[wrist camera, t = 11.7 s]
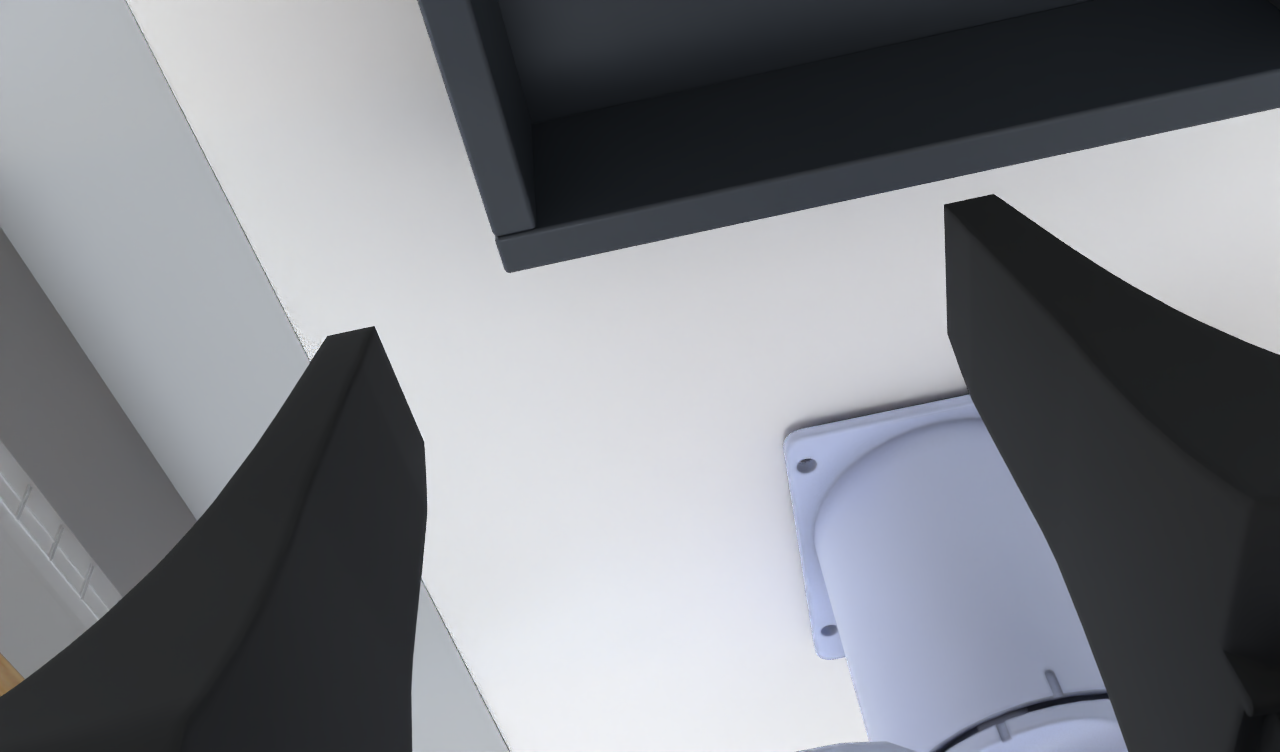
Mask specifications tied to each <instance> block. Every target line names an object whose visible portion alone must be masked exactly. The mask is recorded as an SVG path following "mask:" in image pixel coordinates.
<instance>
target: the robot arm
mask: <svg viewBox="0 0 1280 752" xmlns="http://www.w3.org/2000/svg"><path fill="white" fill-rule="evenodd" d="M944 223H945V260H946V297H947V334H948V336H949V339H950V342H951V345H952V348H953V351H954V353H955V356H956V359H957V362H958V365H959V367H960V370H961V373H962V376H963V378H964V381H965V383H966V386H967V389H968V391H969V395H964V396H959V397H954V398H949V399H944V400H940V401H935V402H930V403H925V404H920V405H915V406H910V407H906V408H901V409H896V410H891V411H886V412H881V413H876V414H871V415H867V416H862V417H857V418H852V419H847V420H842V421H837V422H833V423H828V424H823V425H818V426H813V427H808V428H803V429H799V430H796V431H794V432H792V433H791V434H789V435H788V436H787V437H786V439H785V440H784V444H783V449H784V456H785V462H786V469H787V475H788V481H789V488H790V494H791V501H792V507H793V514H794V520H795V526H796V533H797V539H798V546H799V552H800V558H801V565H802V571H803V578H804V584H805V591H806V597H807V603H808V610H809V616H810V623H811V629H812V636H813V642H814V647H815V651H816V653H817V655H818V656H819V657H820V658H822V659H827V660H831V659H838V658H843V657H846V660H847V663H848V667H849V671H850V674H851V678H852V681H853V685H854V689H855V692H856V696H857V699H858V703H859V707H860V710H861V714H862V717H863V721H864V725H865V728H866V732H867V735H868V739H869V742H855V743H839V744H834V745H828V746H823V747H818V748H813V749H807V750H802V751H797V752H1280V355H1278V354H1275V353H1273V352H1270V351H1268V350H1265V349H1262V348H1260V347H1257V346H1255V345H1252V344H1250V343H1247V342H1245V341H1243V340H1240V339H1238V338H1236V337H1234V336H1231V335H1229V334H1227V333H1225V332H1222V331H1220V330H1218V329H1216V328H1213V327H1211V326H1209V325H1207V324H1204V323H1202V322H1200V321H1198V320H1196V319H1194V318H1192V317H1190V316H1188V315H1186V314H1184V313H1182V312H1180V311H1178V310H1176V309H1174V308H1172V307H1170V306H1168V305H1166V304H1165V303H1163V302H1161V301H1159V300H1157V299H1155V298H1154V297H1152V296H1150V295H1148V294H1146V293H1144V292H1143V291H1141V290H1139V289H1137V288H1135V287H1134V286H1132V285H1130V284H1129V283H1127V282H1125V281H1123V280H1122V279H1120V278H1118V277H1117V276H1115V275H1113V274H1112V273H1110V272H1108V271H1107V270H1105V269H1104V268H1102V267H1100V266H1099V265H1097V264H1096V263H1094V262H1093V261H1091V260H1089V259H1088V258H1086V257H1085V256H1083V255H1082V254H1080V253H1079V252H1077V251H1076V250H1074V249H1073V248H1071V247H1070V246H1068V245H1067V244H1065V243H1064V242H1062V241H1061V240H1059V239H1058V238H1056V237H1055V236H1053V235H1052V234H1050V233H1049V232H1047V231H1046V230H1045V229H1043V228H1042V227H1040V226H1039V225H1037V224H1036V223H1035V222H1033V221H1032V220H1030V219H1029V218H1027V217H1026V216H1025V215H1023V214H1022V213H1020V212H1019V211H1017V210H1016V209H1015V208H1013V207H1012V206H1010V205H1009V204H1007V203H1006V202H1005V201H1003V200H1002V199H1000V198H999V197H997V196H996V195H994V194H992V195H987V196H982V197H978V198H973V199H968V200H964V201H959V202H954V203H950V204H945V205H944ZM804 459H811V460H810V461H807V462H804V463H799V462H800V461H801V460H804ZM426 520H427V487H426V466H425V448H424V441H423V438H422V436H421V434H420V431H419V429H418V427H417V424H416V422H415V420H414V417H413V415H412V413H411V410H410V408H409V406H408V403H407V401H406V399H405V396H404V394H403V392H402V389H401V387H400V385H399V382H398V380H397V378H396V375H395V373H394V371H393V368H392V366H391V364H390V361H389V359H388V357H387V354H386V352H385V350H384V347H383V345H382V343H381V340H380V338H379V336H378V333H377V331H376V329H375V326H373V327H368V328H363V329H359V330H354V331H349V332H344V333H340V334H335V335H330V336H327V338H326V339H325V341H324V342H323V344H322V345H321V347H320V348H319V350H318V351H317V353H316V354H315V356H314V357H313V359H312V360H311V362H310V363H309V365H308V367H307V368H306V370H305V371H304V373H303V374H302V376H301V377H300V379H299V381H298V382H297V384H296V385H295V387H294V388H293V390H292V391H291V393H290V395H289V396H288V398H287V399H286V401H285V402H284V404H283V405H282V407H281V408H280V410H279V412H278V413H277V415H276V416H275V418H274V419H273V421H272V422H271V423H270V425H269V426H268V428H267V429H266V431H265V432H264V434H263V435H262V437H261V438H260V440H259V441H258V443H257V444H256V446H255V447H254V449H253V450H252V451H251V453H250V454H249V455H248V457H247V458H246V459H245V461H244V462H243V463H242V464H241V466H240V467H239V468H238V470H237V471H236V472H235V474H234V475H233V476H232V478H231V479H230V480H229V482H228V483H227V484H226V486H225V487H224V488H223V490H222V491H221V492H220V494H219V495H218V496H217V498H216V499H215V500H214V502H213V503H212V504H211V505H210V506H209V508H208V509H207V510H206V511H205V513H204V514H203V515H202V516H201V517H200V518H199V520H198V521H197V522H196V523H195V524H194V525H193V527H192V528H191V529H190V530H189V531H188V532H187V533H186V534H185V535H184V537H183V538H182V539H181V540H180V541H179V542H178V543H177V544H176V545H175V546H174V547H173V549H172V550H171V551H170V552H169V553H168V554H167V555H166V556H165V557H164V558H163V559H162V560H161V561H160V562H159V563H158V564H157V566H156V567H155V568H154V569H153V570H152V571H150V572H149V573H148V574H147V575H146V576H145V577H144V578H143V579H142V580H141V581H140V582H139V583H138V584H137V585H136V586H135V587H134V588H132V589H131V590H130V591H129V592H128V593H127V594H126V595H125V596H124V597H123V598H122V599H121V600H120V601H119V602H118V603H117V604H116V605H114V606H113V607H112V608H111V609H110V610H109V611H108V612H107V613H106V614H105V615H104V616H103V617H102V618H100V619H99V620H98V621H97V622H96V623H95V624H94V625H92V626H91V627H90V628H89V629H88V630H86V631H85V632H84V633H83V634H82V635H80V636H79V637H78V638H77V639H76V640H75V641H73V642H72V643H71V644H70V645H69V646H67V647H66V648H65V649H64V650H62V651H61V652H60V653H58V654H57V655H56V656H55V657H53V658H52V659H51V660H50V661H48V662H47V663H46V664H44V665H43V666H42V667H41V668H39V669H38V670H37V671H35V672H34V673H33V674H31V675H30V676H29V677H27V678H26V679H25V680H23V681H22V682H21V683H19V684H18V685H17V686H15V687H14V688H12V689H11V690H9V691H8V692H7V693H5V694H4V695H2V696H1V697H0V752H412V696H411V690H412V670H413V654H414V644H415V634H416V624H417V614H418V604H419V594H420V585H421V575H422V565H423V554H424V543H425V532H426Z"/></svg>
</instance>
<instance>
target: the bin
mask: <svg viewBox="0 0 1280 752" xmlns="http://www.w3.org/2000/svg"><path fill="white" fill-rule="evenodd" d="M417 1H418V4H419V7H420V10H421V13H422V16H423V19H424V23H425V26H426V29H427V32H428V35H429V38H430V41H431V44H432V47H433V50H434V53H435V56H436V59H437V63H438V66H439V69H440V72H441V75H442V78H443V81H444V84H445V87H446V90H447V93H448V96H449V100H450V103H451V106H452V109H453V112H454V115H455V118H456V121H457V124H458V127H459V130H460V133H461V136H462V140H463V143H464V146H465V149H466V152H467V155H468V158H469V161H470V164H471V167H472V170H473V173H474V176H475V180H476V183H477V186H478V189H479V192H480V195H481V198H482V201H483V204H484V207H485V210H486V213H487V216H488V220H489V223H490V226H491V229H492V232H493V233H494V235H495V241H496V244H497V248H498V251H499V254H500V257H501V260H502V263H503V266H504V269H505V270H506V272H508V273H511V272H516V271H520V270H525V269H530V268H534V267H539V266H544V265H548V264H553V263H558V262H562V261H567V260H572V259H576V258H581V257H586V256H590V255H595V254H600V253H604V252H609V251H614V250H618V249H623V248H628V247H632V246H637V245H641V244H646V243H651V242H655V241H660V240H665V239H669V238H674V237H679V236H683V235H688V234H693V233H697V232H702V231H707V230H711V229H716V228H721V227H725V226H730V225H735V224H739V223H744V222H749V221H753V220H758V219H763V218H767V217H772V216H777V215H781V214H786V213H791V212H795V211H800V210H805V209H809V208H814V207H819V206H823V205H828V204H833V203H837V202H842V201H847V200H851V199H856V198H861V197H865V196H870V195H875V194H879V193H884V192H889V191H893V190H898V189H903V188H907V187H912V186H917V185H921V184H926V183H931V182H935V181H940V180H945V179H949V178H954V177H958V176H963V175H968V174H972V173H977V172H982V171H986V170H991V169H996V168H1000V167H1005V166H1010V165H1014V164H1019V163H1024V162H1028V161H1033V160H1038V159H1042V158H1047V157H1052V156H1056V155H1061V154H1066V153H1070V152H1075V151H1080V150H1084V149H1089V148H1094V147H1098V146H1103V145H1108V144H1112V143H1117V142H1122V141H1126V140H1131V139H1136V138H1140V137H1145V136H1150V135H1154V134H1159V133H1164V132H1168V131H1173V130H1178V129H1182V128H1187V127H1192V126H1196V125H1201V124H1206V123H1210V122H1215V121H1220V120H1224V119H1229V118H1234V117H1238V116H1243V115H1248V114H1252V113H1257V112H1262V111H1266V110H1271V109H1275V108H1280V0H417Z"/></svg>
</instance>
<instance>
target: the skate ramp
mask: <svg viewBox="0 0 1280 752" xmlns="http://www.w3.org/2000/svg"><path fill="white" fill-rule="evenodd" d="M309 363H310V361H309V359H308V357H307V355H306V353H305V351H304V349H303V347H302V345H301V343H300V341H299V339H298V337H297V335H296V333H295V331H294V329H293V328H292V326H291V324H290V322H289V320H288V318H287V316H286V314H285V312H284V310H283V308H282V306H281V304H280V302H279V300H278V298H277V296H276V294H275V292H274V290H273V288H272V286H271V284H270V283H269V281H268V279H267V277H266V275H265V273H264V271H263V269H262V267H261V265H260V263H259V261H258V259H257V257H256V255H255V253H254V251H253V249H252V247H251V245H250V243H249V241H248V239H247V238H246V236H245V234H244V232H243V230H242V228H241V226H240V224H239V222H238V220H237V218H236V216H235V214H234V212H233V210H232V208H231V206H230V204H229V202H228V200H227V198H226V196H225V194H224V193H223V191H222V189H221V187H220V185H219V183H218V181H217V179H216V177H215V175H214V173H213V171H212V169H211V167H210V165H209V163H208V161H207V159H206V157H205V155H204V153H203V151H202V149H201V148H200V146H199V144H198V142H197V140H196V138H195V136H194V134H193V132H192V130H191V128H190V126H189V124H188V122H187V120H186V118H185V116H184V114H183V112H182V110H181V108H180V106H179V104H178V102H177V101H176V99H175V97H174V95H173V93H172V91H171V89H170V87H169V85H168V83H167V81H166V79H165V77H164V75H163V73H162V71H161V69H160V67H159V65H158V63H157V61H156V59H155V57H154V56H153V54H152V52H151V50H150V48H149V46H148V44H147V42H146V40H145V38H144V36H143V34H142V32H141V30H140V28H139V26H138V24H137V22H136V20H135V18H134V16H133V14H132V12H131V11H130V9H129V7H128V5H127V3H126V1H125V0H0V697H1V696H2V695H4V694H5V693H7V692H8V691H9V690H11V689H12V688H14V687H15V686H17V685H18V684H19V683H21V682H22V681H23V680H25V679H26V678H27V677H29V676H30V675H31V674H33V673H34V672H35V671H37V670H38V669H39V668H41V667H42V666H43V665H44V664H46V663H47V662H48V661H50V660H51V659H52V658H53V657H55V656H56V655H57V654H58V653H60V652H61V651H62V650H64V649H65V648H66V647H67V646H69V645H70V644H71V643H72V642H73V641H75V640H76V639H77V638H78V637H79V636H80V635H82V634H83V633H84V632H85V631H86V630H88V629H89V628H90V627H91V626H92V625H94V624H95V623H96V622H97V621H98V620H99V619H100V618H102V617H103V616H104V615H105V614H106V613H107V612H108V611H109V610H110V609H111V608H112V607H113V606H114V605H116V604H117V603H118V602H119V601H120V600H121V599H122V598H123V597H124V596H125V595H126V594H127V593H128V592H129V591H130V590H131V589H132V588H134V587H135V586H136V585H137V584H138V583H139V582H140V581H141V580H142V579H143V578H144V577H145V576H146V575H147V574H148V573H149V572H150V571H152V570H153V569H154V568H155V567H156V566H157V564H158V563H159V562H160V561H161V560H162V559H163V558H164V557H165V556H166V555H167V554H168V553H169V552H170V551H171V550H172V549H173V547H174V546H175V545H176V544H177V543H178V542H179V541H180V540H181V539H182V538H183V537H184V535H185V534H186V533H187V532H188V531H189V530H190V529H191V528H192V527H193V525H194V524H195V523H196V522H197V521H198V520H199V518H200V517H201V516H202V515H203V514H204V513H205V511H206V510H207V509H208V508H209V506H210V505H211V504H212V503H213V502H214V500H215V499H216V498H217V496H218V495H219V494H220V492H221V491H222V490H223V488H224V487H225V486H226V484H227V483H228V482H229V480H230V479H231V478H232V476H233V475H234V474H235V472H236V471H237V470H238V468H239V467H240V466H241V464H242V463H243V462H244V461H245V459H246V458H247V457H248V455H249V454H250V453H251V451H252V450H253V449H254V447H255V446H256V444H257V443H258V441H259V440H260V438H261V437H262V435H263V434H264V432H265V431H266V429H267V428H268V426H269V425H270V423H271V422H272V421H273V419H274V418H275V416H276V415H277V413H278V412H279V410H280V408H281V407H282V405H283V404H284V402H285V401H286V399H287V398H288V396H289V395H290V393H291V391H292V390H293V388H294V387H295V385H296V384H297V382H298V381H299V379H300V377H301V376H302V374H303V373H304V371H305V370H306V368H307V367H308V365H309ZM411 696H412V752H509V750H508V748H507V746H506V744H505V742H504V740H503V738H502V737H501V735H500V733H499V731H498V729H497V727H496V725H495V723H494V721H493V719H492V717H491V715H490V713H489V711H488V709H487V707H486V705H485V703H484V701H483V699H482V697H481V695H480V693H479V692H478V690H477V688H476V686H475V684H474V682H473V680H472V678H471V676H470V674H469V672H468V670H467V668H466V666H465V664H464V662H463V660H462V658H461V656H460V654H459V652H458V650H457V648H456V647H455V645H454V643H453V641H452V639H451V637H450V635H449V633H448V631H447V629H446V627H445V625H444V623H443V621H442V619H441V617H440V615H439V613H438V611H437V609H436V607H435V605H434V603H433V602H432V600H431V598H430V596H429V594H428V592H427V590H426V588H425V586H424V584H423V582H422V580H421V585H420V594H419V604H418V614H417V624H416V634H415V644H414V654H413V670H412V690H411Z"/></svg>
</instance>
